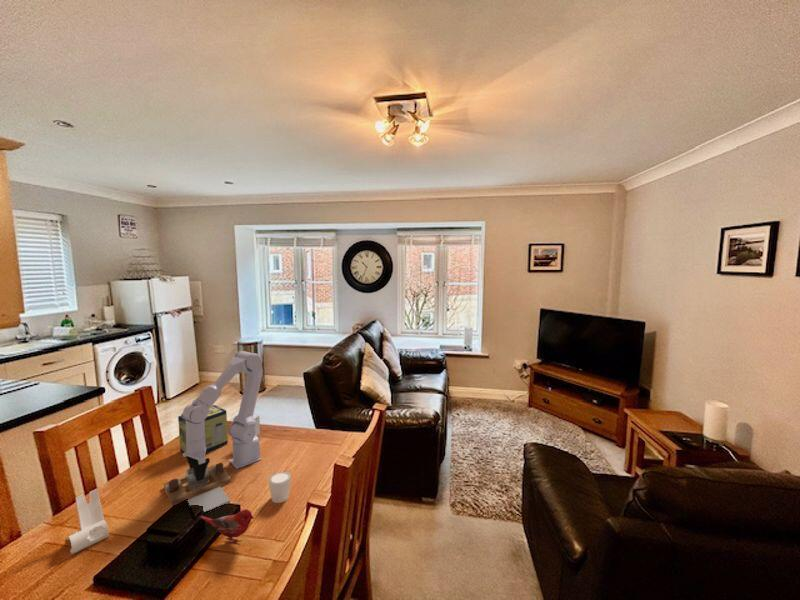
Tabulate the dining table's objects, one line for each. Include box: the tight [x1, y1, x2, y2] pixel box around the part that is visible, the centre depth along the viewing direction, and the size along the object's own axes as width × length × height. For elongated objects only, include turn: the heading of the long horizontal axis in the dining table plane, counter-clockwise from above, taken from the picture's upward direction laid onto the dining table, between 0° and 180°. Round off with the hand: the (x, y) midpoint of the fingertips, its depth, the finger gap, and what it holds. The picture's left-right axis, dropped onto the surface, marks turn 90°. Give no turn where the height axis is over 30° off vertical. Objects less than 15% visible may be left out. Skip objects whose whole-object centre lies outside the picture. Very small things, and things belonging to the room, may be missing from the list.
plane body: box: [163, 462, 232, 507], centre depth 119 cm, size 18×13×4 cm
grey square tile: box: [186, 486, 231, 512], centre depth 110 cm, size 10×10×1 cm
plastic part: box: [65, 488, 110, 555], centre depth 94 cm, size 8×10×12 cm
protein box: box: [177, 404, 229, 454], centre depth 144 cm, size 10×16×16 cm
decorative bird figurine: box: [198, 509, 255, 543], centre depth 94 cm, size 3×18×10 cm, turn 80°
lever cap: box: [185, 466, 210, 492], centre depth 119 cm, size 6×4×6 cm, turn 135°
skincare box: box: [253, 414, 261, 442], centre depth 148 cm, size 6×4×12 cm
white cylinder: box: [268, 471, 291, 504], centre depth 112 cm, size 7×7×7 cm
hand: (197, 474), depth 119 cm, fingers open, 7 cm apart
